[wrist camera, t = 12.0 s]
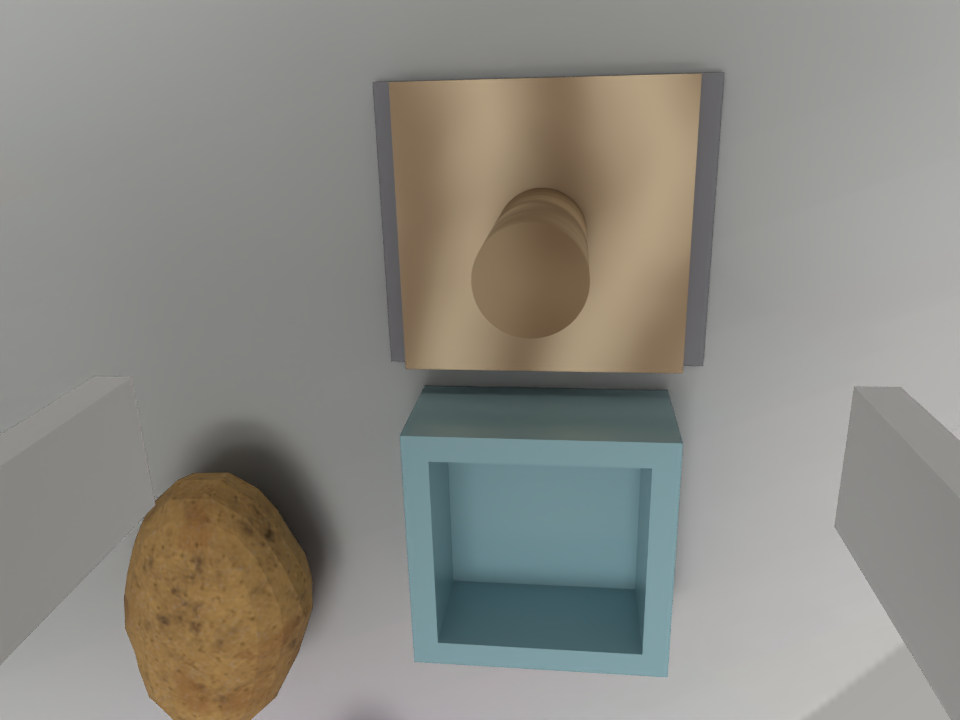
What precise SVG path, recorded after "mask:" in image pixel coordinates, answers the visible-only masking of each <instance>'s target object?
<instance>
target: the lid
mask: <svg viewBox="0 0 960 720" xmlns="http://www.w3.org/2000/svg"><path fill="white" fill-rule="evenodd" d="M701 80H702V73H699V74H662V75H626V76H589V77H553V78H517V79H480V80H444V81H407V82H389V96H390V113H391V130H392V146H393V163H394V180H395V196H396V213H397V229H398V246H399V263H400V279H401V296H402V313H403V329H404V346H405V362H406V369H445V370H506V371H567V372H628V373H683V361H684V346H685V330H686V315H687V299H688V283H689V268H690V252H691V236H692V221H693V205H694V190H695V174H696V158H697V143H698V127H699V112H700V96H701Z"/></svg>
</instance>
